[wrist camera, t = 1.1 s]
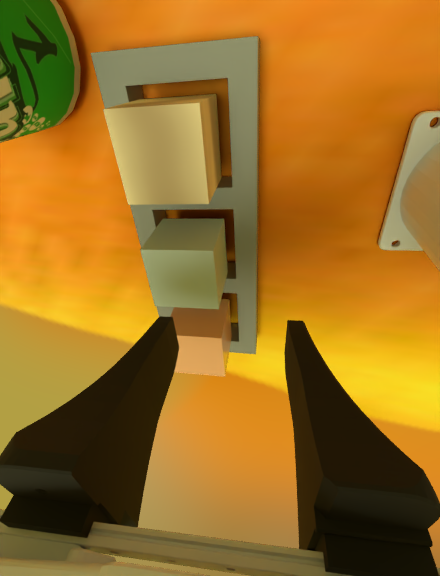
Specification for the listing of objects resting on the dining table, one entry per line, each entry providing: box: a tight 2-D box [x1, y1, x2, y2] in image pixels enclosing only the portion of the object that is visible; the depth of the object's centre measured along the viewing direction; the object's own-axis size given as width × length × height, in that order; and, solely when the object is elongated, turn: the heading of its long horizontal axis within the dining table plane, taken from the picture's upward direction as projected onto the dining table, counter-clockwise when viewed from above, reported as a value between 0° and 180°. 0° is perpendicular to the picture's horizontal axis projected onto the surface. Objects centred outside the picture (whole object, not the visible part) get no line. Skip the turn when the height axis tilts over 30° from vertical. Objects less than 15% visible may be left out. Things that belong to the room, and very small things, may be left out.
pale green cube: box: [140, 218, 228, 309], centre depth 18 cm, size 4×4×4 cm
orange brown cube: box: [170, 299, 232, 376], centre depth 22 cm, size 4×4×4 cm
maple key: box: [103, 94, 222, 205], centre depth 14 cm, size 4×4×4 cm
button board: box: [91, 36, 260, 354], centre depth 21 cm, size 8×21×2 cm, turn 4°
